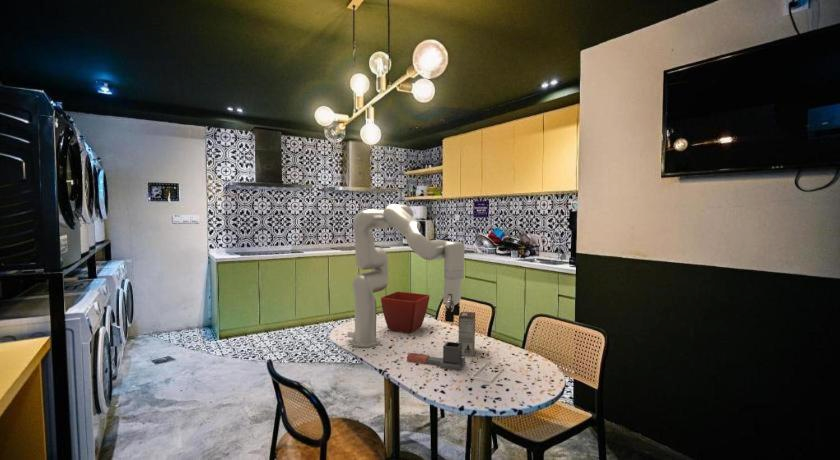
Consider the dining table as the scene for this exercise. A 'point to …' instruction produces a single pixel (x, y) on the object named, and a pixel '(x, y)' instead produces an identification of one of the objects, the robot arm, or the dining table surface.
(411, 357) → the ratchet
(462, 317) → the coffee box
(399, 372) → the dining table surface
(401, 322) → the plant pot
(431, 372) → the dining table surface
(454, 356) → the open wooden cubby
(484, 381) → the phone case
